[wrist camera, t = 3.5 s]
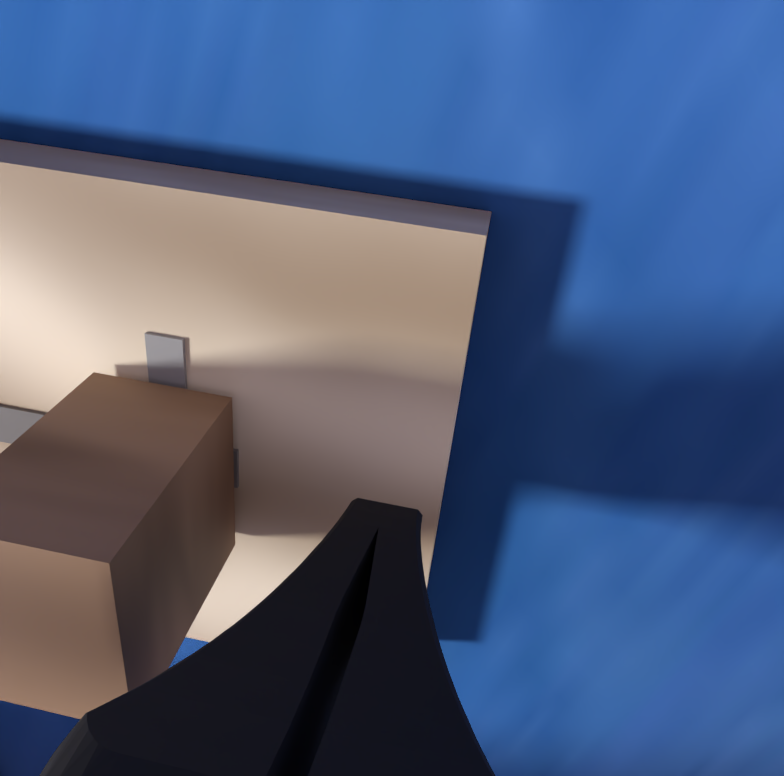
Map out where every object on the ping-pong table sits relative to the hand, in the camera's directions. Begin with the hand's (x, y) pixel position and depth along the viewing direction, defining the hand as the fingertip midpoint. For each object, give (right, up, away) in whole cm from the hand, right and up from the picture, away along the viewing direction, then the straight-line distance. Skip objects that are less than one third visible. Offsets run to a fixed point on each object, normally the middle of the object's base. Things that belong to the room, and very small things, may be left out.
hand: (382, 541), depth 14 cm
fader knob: (-5, +1, +1) cm, 5 cm away
